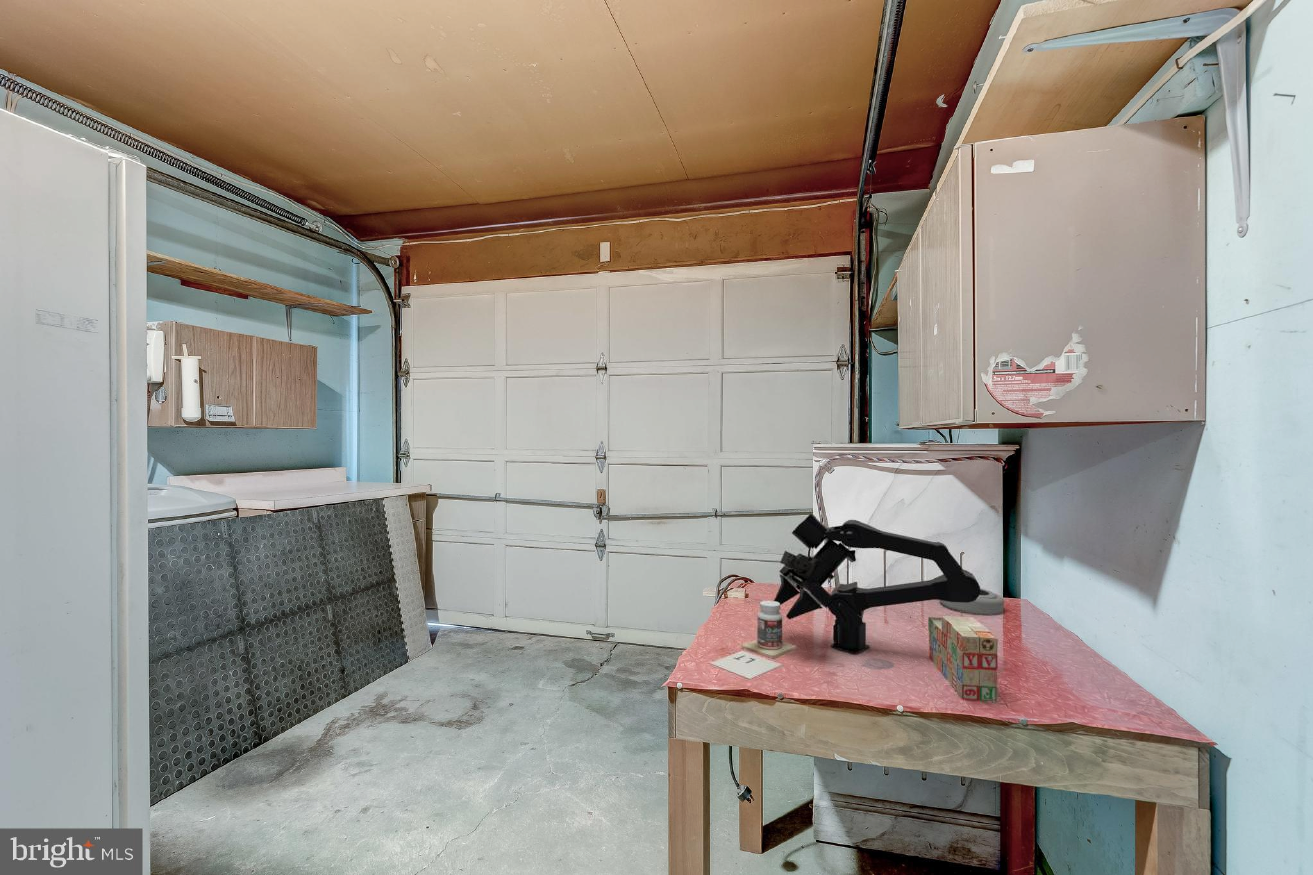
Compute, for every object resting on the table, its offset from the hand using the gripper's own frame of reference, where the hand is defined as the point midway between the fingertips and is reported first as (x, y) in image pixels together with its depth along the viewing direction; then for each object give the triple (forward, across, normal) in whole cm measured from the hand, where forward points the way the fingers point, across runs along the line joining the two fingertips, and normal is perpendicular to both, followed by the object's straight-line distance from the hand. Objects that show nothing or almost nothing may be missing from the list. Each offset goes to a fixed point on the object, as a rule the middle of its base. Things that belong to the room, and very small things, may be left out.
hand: (780, 611), depth 134 cm
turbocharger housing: (-40, -24, +54) cm, 71 cm away
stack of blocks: (-15, +21, +28) cm, 38 cm away
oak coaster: (+8, 0, +4) cm, 9 cm away
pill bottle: (+8, 0, +4) cm, 8 cm away
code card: (+14, +8, -2) cm, 16 cm away
